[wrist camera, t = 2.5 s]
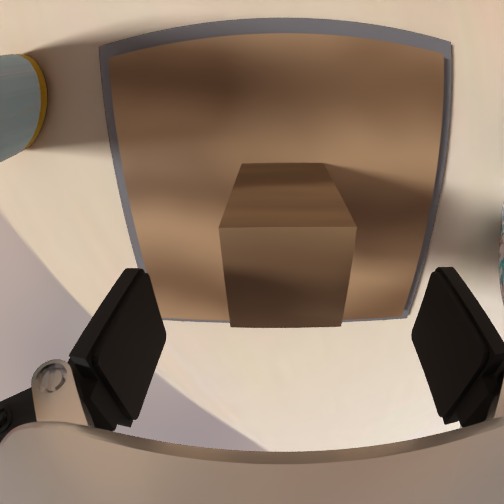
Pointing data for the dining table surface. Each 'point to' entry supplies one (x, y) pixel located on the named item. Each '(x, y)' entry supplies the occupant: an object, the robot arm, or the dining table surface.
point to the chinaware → (502, 257)
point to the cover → (279, 173)
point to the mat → (277, 27)
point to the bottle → (20, 103)
